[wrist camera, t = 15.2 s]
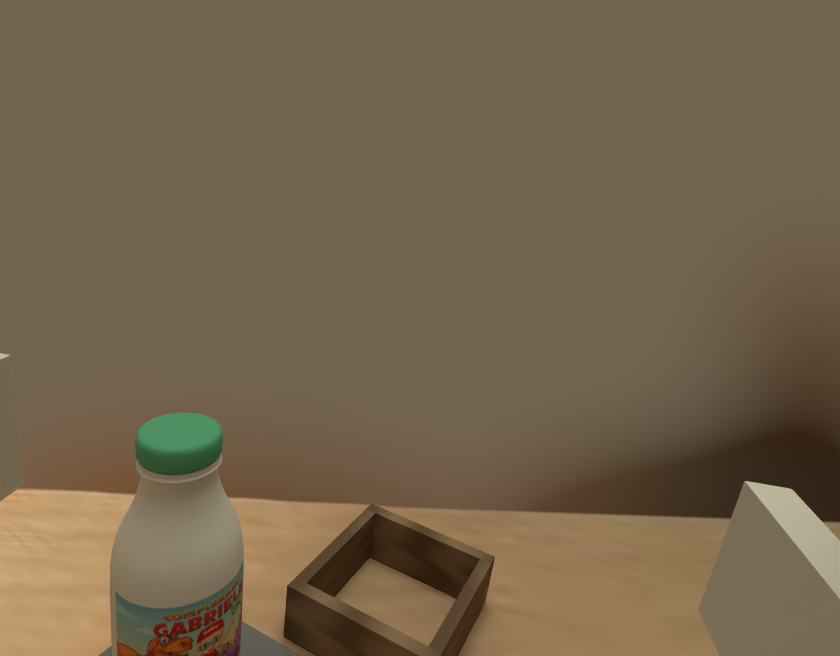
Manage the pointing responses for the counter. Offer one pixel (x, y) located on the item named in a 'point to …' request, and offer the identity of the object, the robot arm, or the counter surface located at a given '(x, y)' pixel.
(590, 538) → the counter surface
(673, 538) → the counter surface
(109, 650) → the slate tile
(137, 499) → the milk bottle
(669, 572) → the counter surface
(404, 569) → the walnut caddy
